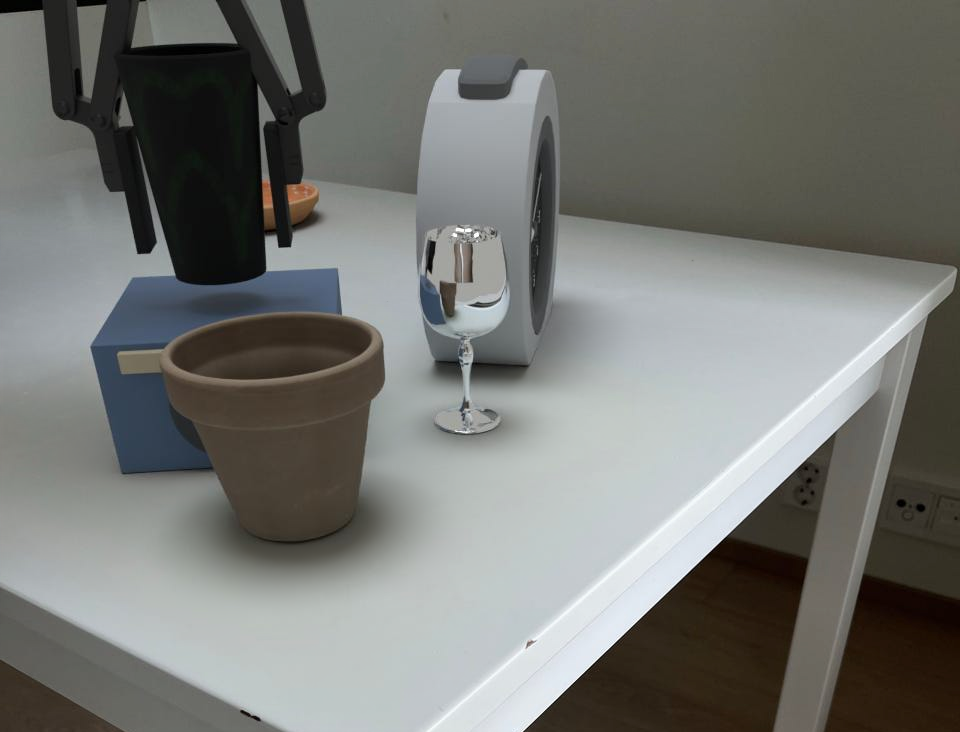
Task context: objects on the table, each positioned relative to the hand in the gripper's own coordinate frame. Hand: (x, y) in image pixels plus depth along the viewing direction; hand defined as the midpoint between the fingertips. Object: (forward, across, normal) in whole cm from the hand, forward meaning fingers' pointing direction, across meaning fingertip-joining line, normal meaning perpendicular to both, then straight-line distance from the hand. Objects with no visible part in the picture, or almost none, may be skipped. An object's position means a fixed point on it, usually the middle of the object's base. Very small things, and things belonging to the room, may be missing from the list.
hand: (216, 244), depth 61 cm
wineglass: (+12, +15, -2) cm, 19 cm away
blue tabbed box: (+12, 0, 0) cm, 12 cm away
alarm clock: (+12, +19, +15) cm, 27 cm away
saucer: (+12, -4, +59) cm, 60 cm away
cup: (+2, 0, 0) cm, 2 cm away
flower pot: (+12, +4, -14) cm, 19 cm away
